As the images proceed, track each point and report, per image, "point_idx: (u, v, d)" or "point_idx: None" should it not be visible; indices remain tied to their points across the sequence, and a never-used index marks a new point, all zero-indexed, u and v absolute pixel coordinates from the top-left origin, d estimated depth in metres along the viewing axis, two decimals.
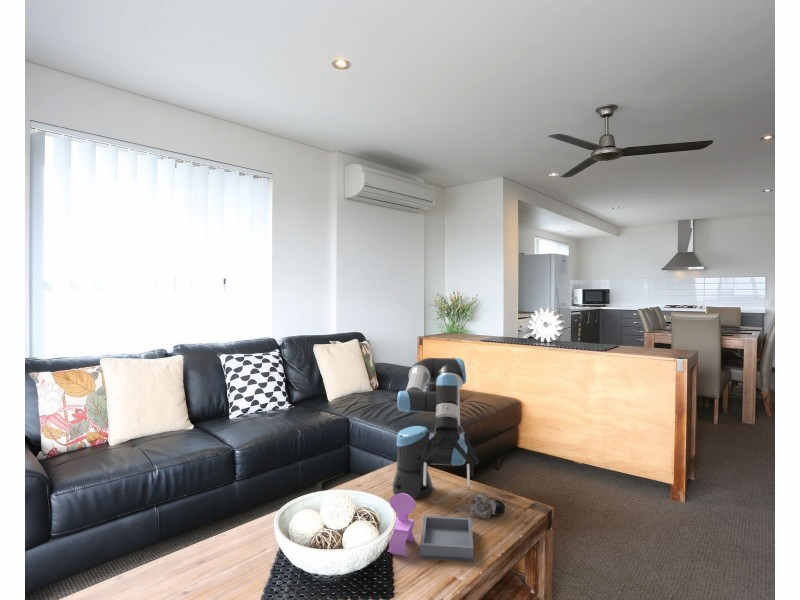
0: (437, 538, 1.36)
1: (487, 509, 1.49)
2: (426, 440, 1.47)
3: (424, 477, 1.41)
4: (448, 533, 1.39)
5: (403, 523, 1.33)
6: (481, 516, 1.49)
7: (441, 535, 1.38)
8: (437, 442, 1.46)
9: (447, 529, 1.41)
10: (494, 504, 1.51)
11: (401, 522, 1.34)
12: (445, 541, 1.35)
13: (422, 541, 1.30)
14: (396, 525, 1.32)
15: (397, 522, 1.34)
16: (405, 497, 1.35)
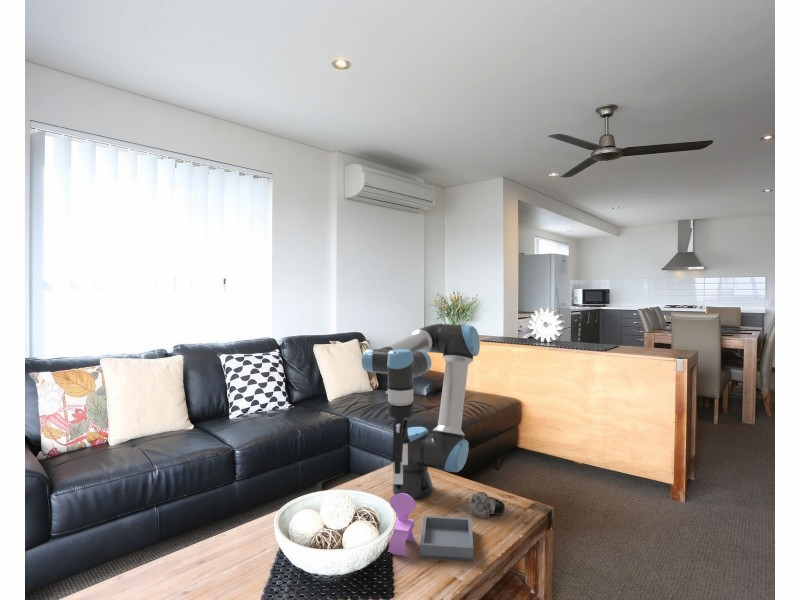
0: (437, 538, 1.36)
1: (486, 508, 1.49)
2: None
3: None
4: (448, 533, 1.39)
5: (403, 523, 1.33)
6: (480, 515, 1.50)
7: (441, 535, 1.38)
8: None
9: (447, 529, 1.41)
10: (493, 504, 1.51)
11: (401, 522, 1.34)
12: (445, 541, 1.35)
13: (422, 541, 1.30)
14: (396, 525, 1.32)
15: (397, 522, 1.34)
16: (405, 497, 1.35)
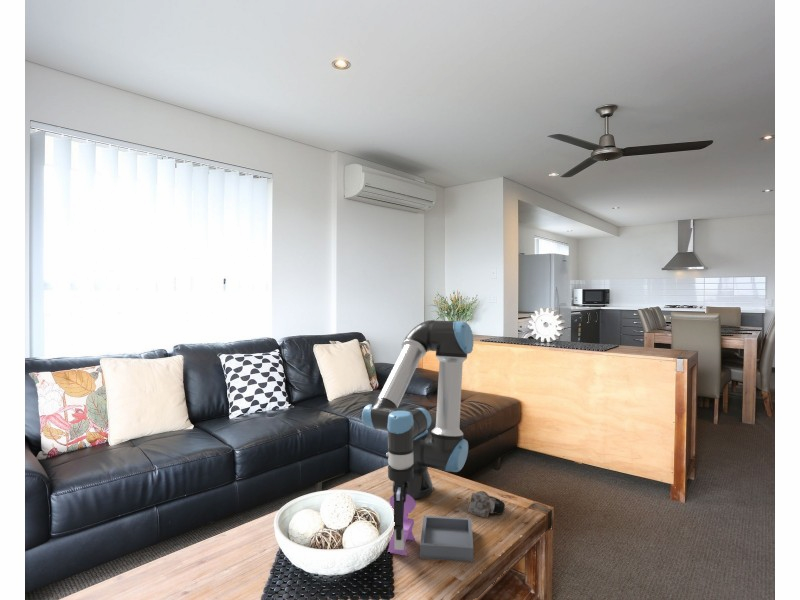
0: (437, 538, 1.36)
1: (486, 507, 1.50)
2: None
3: None
4: (448, 533, 1.39)
5: (403, 522, 1.33)
6: (480, 514, 1.50)
7: (441, 535, 1.38)
8: None
9: (447, 529, 1.41)
10: (493, 503, 1.52)
11: None
12: (445, 541, 1.35)
13: (422, 541, 1.30)
14: None
15: None
16: None
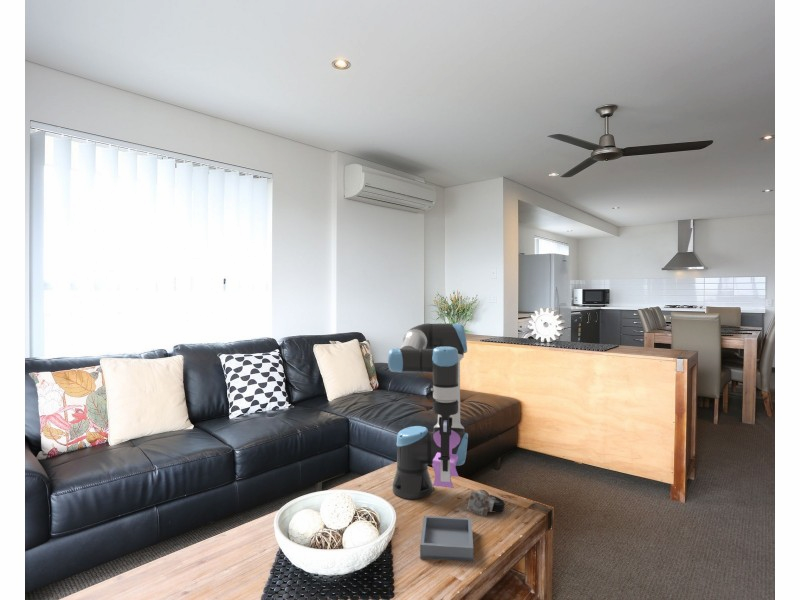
0: (437, 538, 1.36)
1: (484, 506, 1.51)
2: None
3: None
4: (448, 533, 1.39)
5: None
6: (478, 512, 1.52)
7: (441, 535, 1.38)
8: None
9: (447, 529, 1.41)
10: (492, 502, 1.53)
11: None
12: (445, 541, 1.35)
13: (422, 541, 1.30)
14: None
15: None
16: None
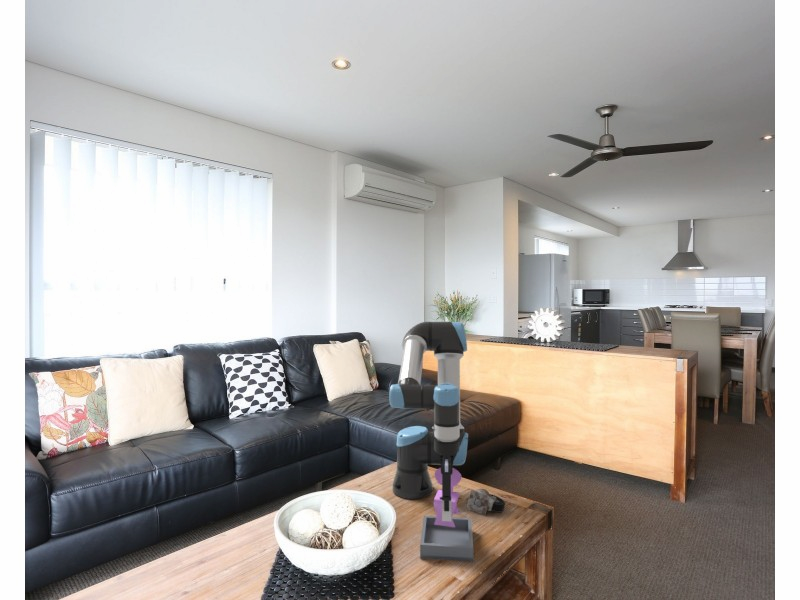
0: (437, 538, 1.36)
1: (484, 505, 1.52)
2: None
3: None
4: (448, 533, 1.39)
5: None
6: (478, 511, 1.52)
7: (441, 535, 1.38)
8: None
9: (447, 529, 1.41)
10: (492, 501, 1.53)
11: None
12: (445, 541, 1.35)
13: (422, 541, 1.30)
14: None
15: None
16: None
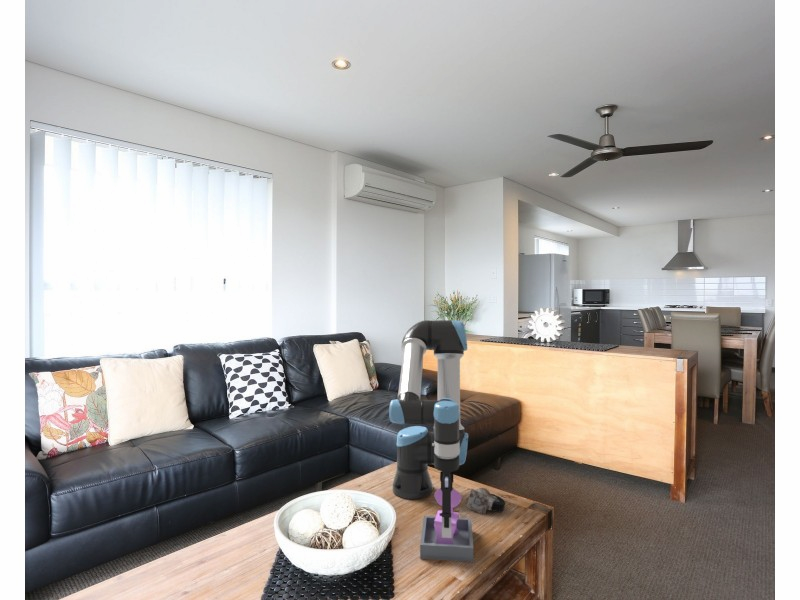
0: None
1: (483, 504, 1.52)
2: None
3: None
4: None
5: None
6: (477, 510, 1.53)
7: None
8: None
9: None
10: (492, 500, 1.54)
11: None
12: None
13: (422, 541, 1.30)
14: None
15: None
16: None
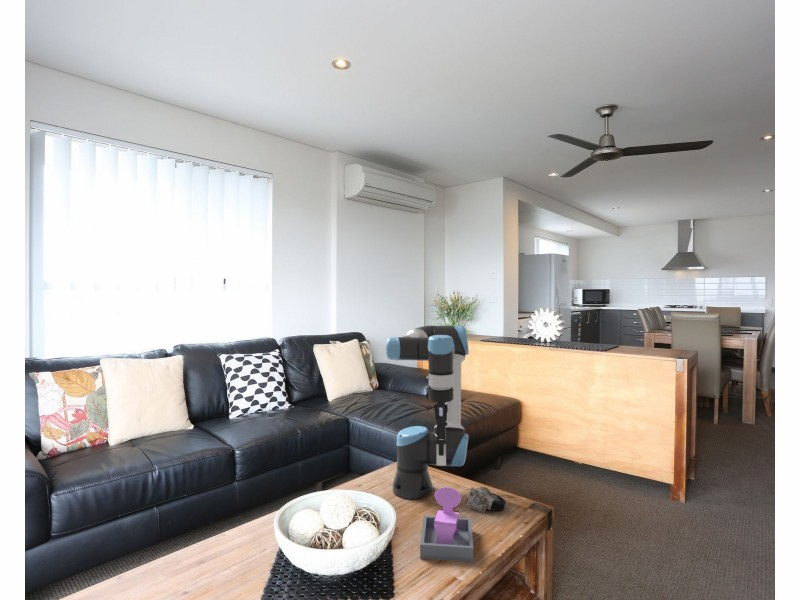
0: None
1: (483, 503, 1.53)
2: None
3: None
4: None
5: (449, 516, 1.35)
6: (477, 509, 1.54)
7: None
8: None
9: None
10: (492, 500, 1.54)
11: (447, 515, 1.35)
12: None
13: (422, 541, 1.30)
14: (443, 518, 1.34)
15: (443, 515, 1.35)
16: (450, 491, 1.37)
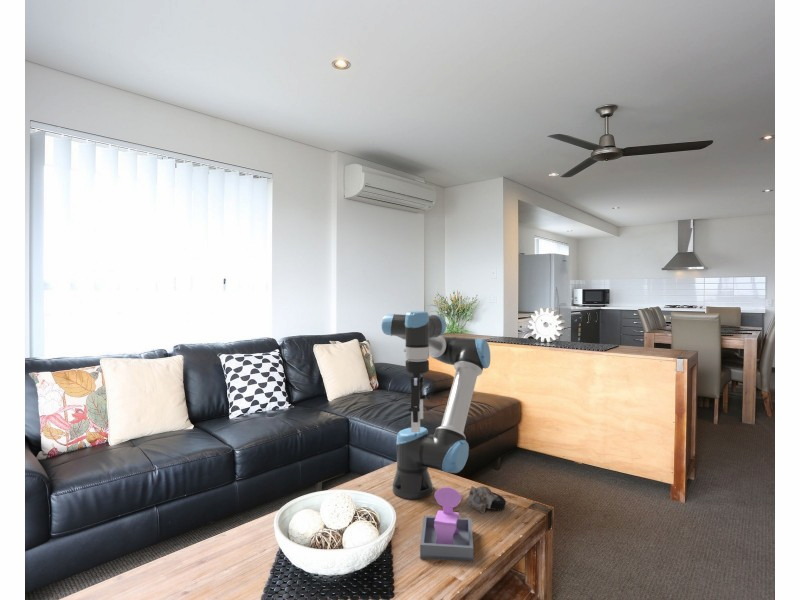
0: None
1: (483, 502, 1.54)
2: None
3: None
4: None
5: (449, 516, 1.35)
6: (477, 508, 1.55)
7: None
8: None
9: None
10: (492, 499, 1.55)
11: (447, 515, 1.35)
12: None
13: (422, 541, 1.30)
14: (443, 518, 1.34)
15: (443, 515, 1.35)
16: (450, 491, 1.37)
